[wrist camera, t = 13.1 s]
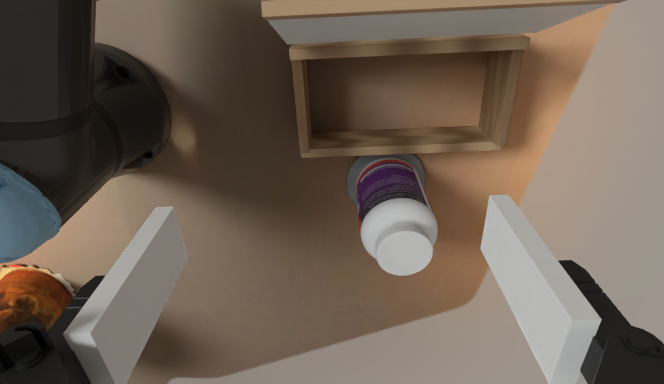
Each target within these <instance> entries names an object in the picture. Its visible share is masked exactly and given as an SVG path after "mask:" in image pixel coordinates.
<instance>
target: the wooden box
mask: <svg viewBox="0 0 664 384" xmlns="http://www.w3.org/2000/svg"><path fill="white" fill-rule="evenodd" d="M529 41H530V37H527V36H524V35H522V34H519V33H517V34H496V35H475V36H454V37H433V38H412V39H390V40H369V41H348V42H327V43H306V44H291V46H290V48H289V55H290V60H291V63H292V74H293V85H294V95H295V106H296V117H297V128H298V138H299V149H300V153H301V158H313V157H339V156H364V155H390V154H415V153H441V152H466V151H492V150H501V146H502V145H506V141H507V135H508V130H509V124H510V119H511V113H512V108H513V102H514V97H515V91H516V86H517V80H518V75H519V69H520V64H521V58H522V53H523V49H528V46H529ZM478 51H489V57H488V64H487V71H486V78H485V85H484V92H483V100H482V107H481V114H480V121H479V126H462V127H438V128H413V129H389V130H364V131H340V132H316V133H312V127H311V113H310V100H309V87H308V74H307V60H306V59H326V58H348V57H369V56H391V55H413V54H434V53H456V52H478Z"/></svg>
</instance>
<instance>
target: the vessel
mask: <svg viewBox="0 0 664 384" xmlns="http://www.w3.org/2000/svg"><path fill="white" fill-rule="evenodd" d="M27 266H28V268H27V267H23V266H20V265H9V267H1V266H0V268H1V271H0V334H1V333H2V332H4V331H5V330H7V329H9V328H11V327H13V326H15V325H18V324H21V323H24V322H31V321H35V322H39V323H41V324H42V325H43V326H44V328H45V330H46V331H48V330H49V329H50V328H51V326H52V325H53V324H54V322H55V321H56V320H57V319H58V317H59V316H60V315H61V313H62V312H63V311H64V310H65V309H67V306H68V304H69V303H70V302H71V301H72V300H74V297H75V295H76V294H74V293H72V291H74V289H73V288H72V287H71V284H70V283H69V282H67V281H66V280H65V279H64V278H63V277H62V276H61V274H60V273H58V274H52V273H51V272H50V271H48V270H47V269H43V268H39V269H36V268H35V267H33V266H29V265H27Z"/></svg>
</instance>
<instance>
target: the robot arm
mask: <svg viewBox="0 0 664 384" xmlns="http://www.w3.org/2000/svg"><path fill="white" fill-rule="evenodd" d="M97 1H99V0H97ZM95 20H96V0H0V263H6V262H11V261H14V260H17V259H19V258H22V257H24V256H26V255H28V254H30V253H31V252H33V251H34V250H35V249H37V248H38V247H39V246H41V245H42V244H43V243H45V242H46V241H47V240H49V239H51V238H53V237H54V236H55V235H56V234H57V233H58V232H59V231H60V230H59V229H60V228H61V227H62V226H63V225H64V224H65V223H66V222H67V221H68V220H69V219H70V218H71V217H72V216H73V215H74V214H75V213H76V212H77V211H78V210H79V209H80V208H81V207H82V206H83V205H84V204H85V203H86V202H87V201H88V200H89V199H90V198H91V197H92V196H93V195H94V194H95V193H96V192H97V191H98V190H99V189H100V188H101V187H102V186H104V185H105V184H106V183H107V182H108V181H109V180H110V179H111V178H114V177H118V176H121V175H124V174H128V173H131V172H134V171H137V170H139V169H141V168H142V167H144V166H146V165H147V164H148V163H150V162H151V161H152V160H153V159H154V158H155V157H156V156H157V155H158V154H159V153H160V151H161V150H162V149H163V147H164V146H165V144H166V142H167V140H168V137H169V134H170V128H171V115H170V109H169V105H168V102H167V99H166V97H165V94H164V92H163V90H162V88H161V87H160V85H159V83H158V82H157V81H156V79H155V78H154V77H153V75H152V74H151V73H150V72H149V71H148V70H147V69H146V68H145V67H144V66H143V65H142V64H141V63H140V62H138V61H137V60H136V59H134V58H133V57H131V56H130V55H128V54H127V53H125V52H123V51H121V50H119V49H117V48H114V47H111V46H109V45H105V44H101V43H95ZM480 249H481V251H482V253H483V255H484V257H485V259H486V261H487V263H488V265H489V267H490V269H491V271H492V273H493V274H494V276H495V279H496V280H497V283H498V284H499V286H500V288H501V290H502V292H503V294H504V296H505V298H506V300H507V302H508V304H509V306H510V308H511V310H512V312H513V314H514V316H515V318H516V320H517V322H518V324H519V326H520V328H521V330H522V332H523V334H524V336H525V338H526V340H527V342H528V344H529V346H530V348H531V350H532V352H533V354H534V356H535V358H536V360H537V362H538V364H539V365H540V367H541V369H542V371H543V373H544V375H545V377H546V379H547V381H548V383H549V384H576V382H577V379H578V377H579V375H580V372H581V373H582V374H583V376H584V378H585V379H586V381H587V383H588V384H664V344H663V343H662V342H661V341H660V340H659V339H658V338H656V337H655V336H654V335H653V334H651V333H649V332H647V331H645V330H643V329H640V328H637V327H634V326H631V325H630V324H629V322H628V321H627V320H626V319H625V317H624V316H623V315H622V314H621V312H620V311H619V310H618V309H617V308H616V306H615V305H614V304H613V303H612V301H611V300H610V299H609V298H608V297H607V296H606V294H605V293H603V292H602V289H601V288H600V287H599V285H598V284H596V283H595V281H594V279H593V278H592V277H591V276H590V274H589V273H588V272H587V271H586V270H585V269H584V268H582V267H581V266H579V265H578V264H576V263H575V262H573V261H572V260H563V261H558V260H557V259H556V258H555V256H554V255H553V254H552V252H551V251H550V250H549V248H548V247H547V246H546V244H545V243H544V242H543V240H542V239H541V238H540V236H539V235H538V234H537V232H536V231H535V229H534V228H533V227H532V225H531V224H530V223H529V221H528V220H527V219H526V217H525V216H524V215H523V214H522V212H521V211H520V209H519V208H518V207H517V205H516V204H515V203H514V201H513V200H512V199H511V197H510V196H509V195H490V196H489V202H488V207H487V213H486V219H485V225H484V231H483V237H482V242H481V248H480ZM187 260H188V255H187V251H186V248H185V244H184V240H183V237H182V233H181V230H180V226H179V223H178V219H177V216H176V212H175V209H174V207H156V208H155V209H154V210H153V212H152V213H151V215H150V216H149V217H148V219H147V220H146V221H145V223H144V224H143V226H142V227H141V228H140V230H139V231H138V232H137V234H136V235H135V236H134V238H133V239H132V241H131V242H130V243H129V245H128V246H127V247H126V249H125V250H124V251H123V253H122V254H121V256H120V257H119V258H118V260H117V261H116V262H115V264H114V265H113V266H112V268H111V269H110V271H109V272H108V273H107V275H106V276H95V277H94V278H93V279H91V280H90V281H89V282H88V283H86V284H85V285H84V286H82V288H81V289H80V290H79V292H78V293H77V294H76V295H75V297H74V300H72V301H71V302H70V303H69V304H68V306H67V309H65V310H64V311H63V312H62V313H61V315H60V316H59V317H58V319H57V320H56V321H55V322H54V324H53V325H52V326H51V328H50V329H49V330H48V331H46V330H45V328H44V326H43V325H42V324H41V323H39V322H35V321H31V322H24V323H21V324H18V325H15V326H13V327H11V328H9V329H7V330H5V331H4V332H2V333H1V334H0V384H126V383H127V381H128V379H129V377H130V375H131V373H132V371H133V369H134V367H135V365H136V363H137V361H138V359H139V357H140V355H141V353H142V351H143V349H144V347H145V345H146V343H147V341H148V339H149V337H150V335H151V333H152V331H153V329H154V327H155V325H156V323H157V321H158V319H159V317H160V315H161V313H162V311H163V309H164V307H165V305H166V303H167V301H168V299H169V297H170V294H171V292H172V290H173V288H174V286H175V284H176V282H177V280H178V278H179V276H180V274H181V272H182V270H183V268H184V266H185V264H186V262H187Z"/></svg>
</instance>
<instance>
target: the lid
mask: <svg viewBox="0 0 664 384" xmlns="http://www.w3.org/2000/svg"><path fill="white" fill-rule="evenodd" d="M623 1H625V0H272V1H261V6H262V17H263V18H264V20H267V21H268V22H269V23H270V24H271V26H272V27H273V28H274V29H275V30H276V32H277V33H278V34H279V35H280V36H281V38H282V39H283V40H284V41H285V42H286V44H306V43H327V42H348V41H369V40H390V39H412V38H433V37H454V36H475V35H496V34H517V33H536V32H539V31H541V30H544V29H546V28H549V27H552V26H554V25H557V24H559V23H562V22H565V21H567V20H570V19H572V18H575V17H577V16H580V15H583V14H585V13H588V12H590V11H593V10H596V9H598V8H601V7H603V6H606V5H608V4H611V3H620V2H623Z"/></svg>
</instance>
